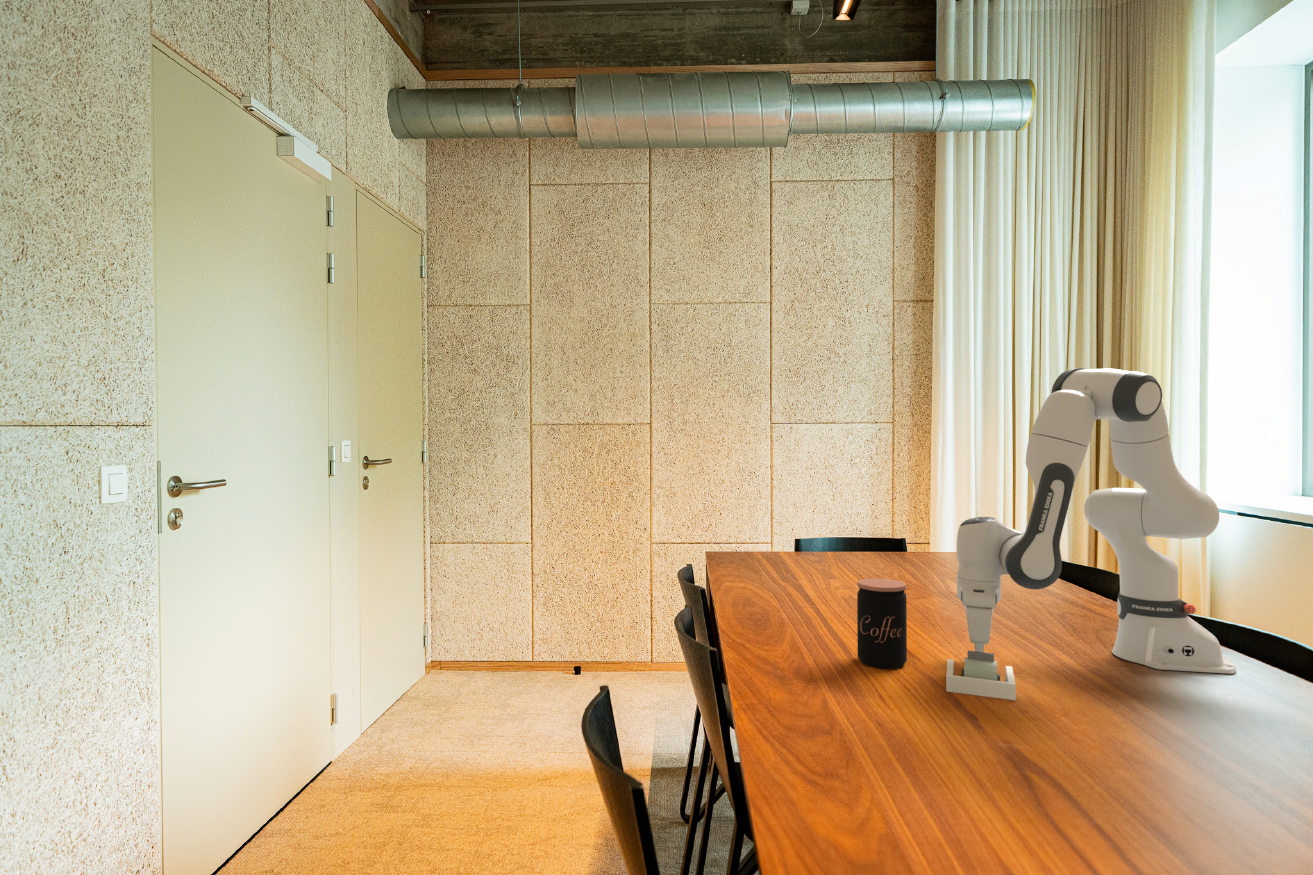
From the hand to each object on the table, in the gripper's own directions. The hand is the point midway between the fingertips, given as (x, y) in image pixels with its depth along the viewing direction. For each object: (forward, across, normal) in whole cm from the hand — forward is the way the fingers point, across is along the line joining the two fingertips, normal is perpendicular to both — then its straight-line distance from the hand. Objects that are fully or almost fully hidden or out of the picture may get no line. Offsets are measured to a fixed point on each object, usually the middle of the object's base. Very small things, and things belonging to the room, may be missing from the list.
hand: (979, 653), depth 155 cm
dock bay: (+3, +12, 0) cm, 12 cm away
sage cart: (+3, +12, 0) cm, 13 cm away
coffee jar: (+3, +5, -20) cm, 21 cm away
